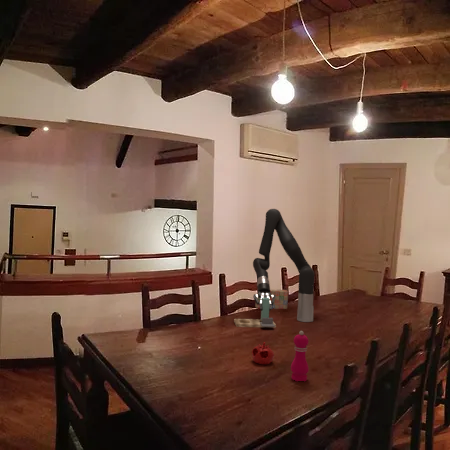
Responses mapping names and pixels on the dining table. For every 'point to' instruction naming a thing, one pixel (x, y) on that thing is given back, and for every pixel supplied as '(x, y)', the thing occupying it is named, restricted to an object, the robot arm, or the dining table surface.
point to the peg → (265, 308)
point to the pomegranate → (262, 354)
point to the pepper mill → (300, 358)
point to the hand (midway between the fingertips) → (265, 310)
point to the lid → (267, 322)
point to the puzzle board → (249, 323)
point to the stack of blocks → (277, 299)
